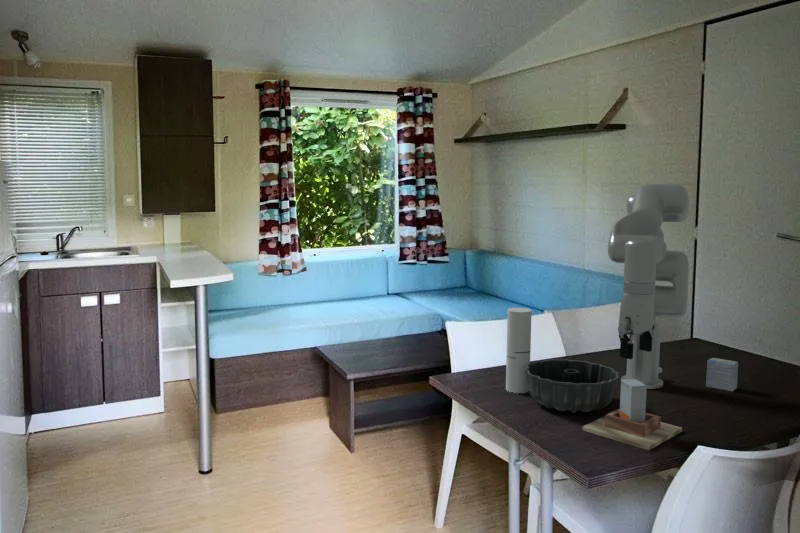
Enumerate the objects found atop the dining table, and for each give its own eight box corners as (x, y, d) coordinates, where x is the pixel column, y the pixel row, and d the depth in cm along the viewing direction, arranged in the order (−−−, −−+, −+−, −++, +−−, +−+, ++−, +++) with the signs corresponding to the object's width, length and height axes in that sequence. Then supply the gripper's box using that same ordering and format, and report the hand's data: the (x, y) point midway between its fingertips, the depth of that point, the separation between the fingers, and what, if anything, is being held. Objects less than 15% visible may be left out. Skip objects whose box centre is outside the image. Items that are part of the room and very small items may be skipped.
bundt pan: (541, 384, 215) (542, 353, 214) (627, 398, 202) (628, 365, 200) (510, 409, 193) (510, 374, 191) (604, 426, 179) (605, 389, 178)
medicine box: (737, 389, 211) (738, 361, 210) (732, 392, 208) (734, 364, 206) (710, 383, 216) (712, 357, 215) (705, 386, 213) (707, 359, 212)
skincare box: (618, 423, 178) (620, 379, 177) (633, 422, 179) (635, 378, 177) (629, 432, 172) (631, 386, 171) (645, 431, 173) (647, 385, 171)
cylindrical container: (529, 394, 205) (531, 312, 202) (505, 392, 207) (507, 311, 203) (529, 387, 212) (531, 308, 209) (506, 385, 214) (508, 307, 210)
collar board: (617, 413, 188) (618, 399, 188) (682, 431, 175) (682, 416, 175) (582, 430, 176) (583, 415, 176) (648, 450, 163) (649, 434, 163)
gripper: (641, 282, 180) (638, 345, 182) (607, 290, 168) (604, 358, 170) (669, 285, 174) (665, 350, 177) (636, 294, 162) (632, 364, 165)
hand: (635, 354), depth 174 cm, fingers open, 9 cm apart
